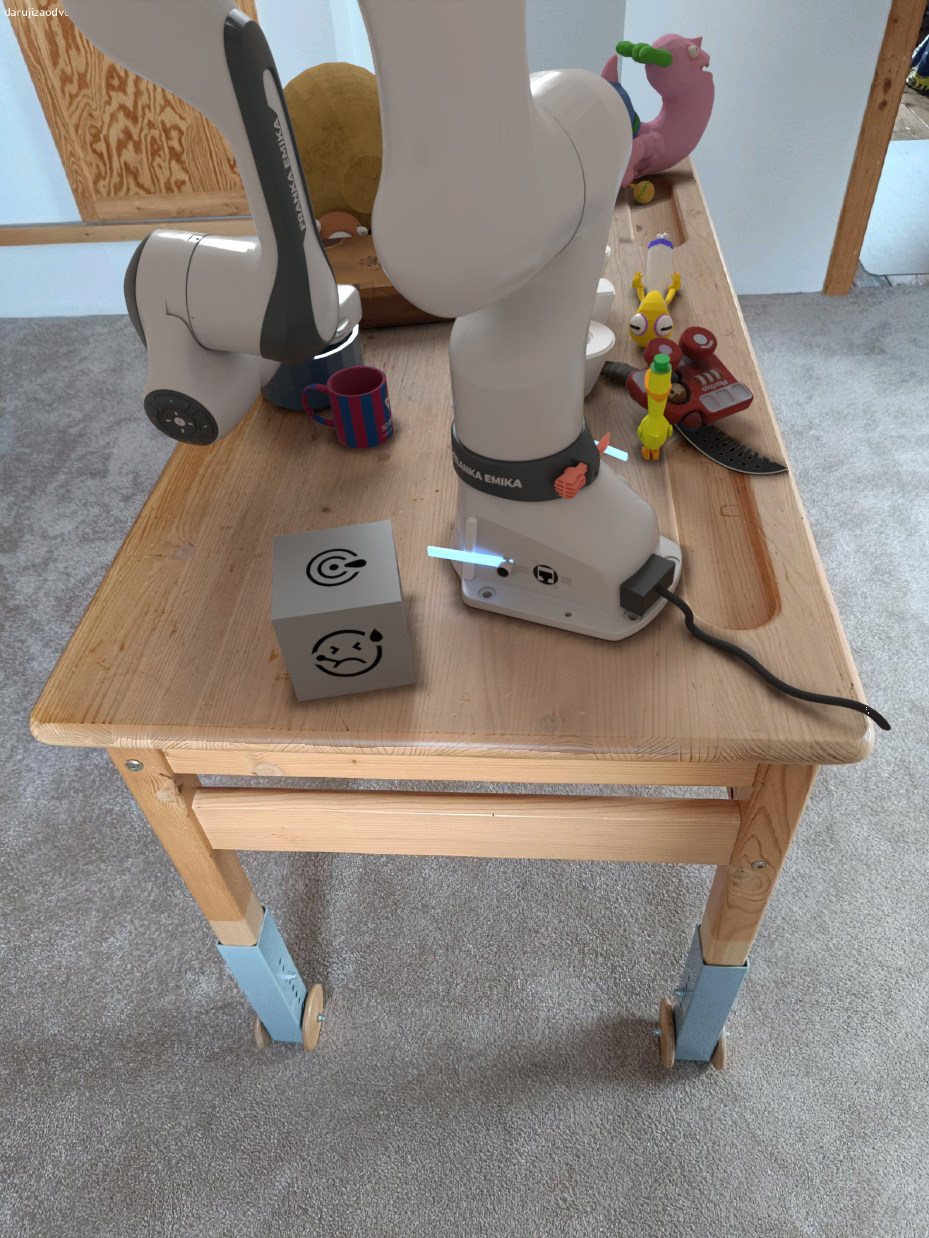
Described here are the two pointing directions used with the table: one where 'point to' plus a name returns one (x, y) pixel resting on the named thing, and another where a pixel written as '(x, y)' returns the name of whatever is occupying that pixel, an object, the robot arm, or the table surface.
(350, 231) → the figurine
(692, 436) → the knife
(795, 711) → the table surface
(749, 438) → the table surface
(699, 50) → the toy
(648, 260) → the character
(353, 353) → the bowl
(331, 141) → the tan rounded lump
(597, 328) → the wavy white extrusion
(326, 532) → the icon cube
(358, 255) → the carved wooden box
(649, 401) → the toy figure
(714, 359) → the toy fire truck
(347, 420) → the cup
